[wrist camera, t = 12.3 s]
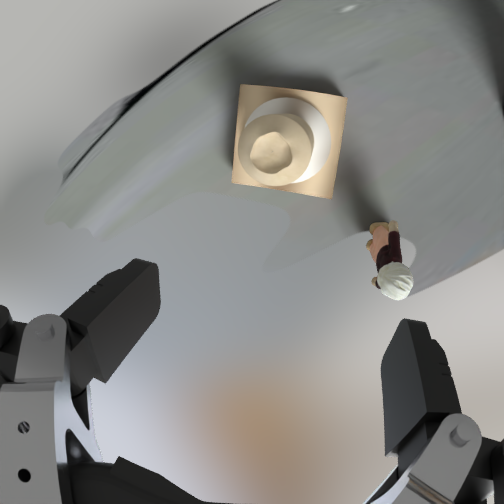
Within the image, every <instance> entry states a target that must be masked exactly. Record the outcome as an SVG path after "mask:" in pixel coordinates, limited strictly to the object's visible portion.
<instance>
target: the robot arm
mask: <svg viewBox="0 0 504 504" xmlns="http://www.w3.org/2000/svg"><path fill="white" fill-rule="evenodd" d="M160 303H161V300H160V287H159V270H158V266H157V264H155V263H152V262H149V261H145V260H141V259H137V258H136V259H133V260H132V261H131V262H129V263H128V264H127V265H126V266H125V267H124V268H122V269H118V270H116V271H114V272H111V273H109V274H107V275H105V276H104V277H103V278H102V279H101V280H99V281H98V282H97V284H96V285H94V286H92V287H91V288H90V289H89V291H88V292H86V293H85V294H83V295H82V296H81V297H80V298H79V299H78V300H76V301H75V302H74V303H73V304H72V305H71V306H70V307H69V308H68V309H66V310H65V311H64V312H63V313H62V314H61V315H60V316H58V315H55V314H45V315H41V316H38V317H36V318H34V319H33V320H31V321H30V322H29V323H28V324H27V323H22V322H16V321H13V320H12V317H11V315H10V313H9V310H8V309H7V307H5V306H2V305H0V504H229V503H212V502H204V501H201V500H199V499H197V498H195V497H194V496H192V495H190V494H189V493H187V492H185V491H184V490H182V489H181V488H179V487H178V486H176V485H175V484H173V483H171V482H170V481H169V480H167V479H165V478H164V477H163V476H161V475H160V474H158V473H155V472H153V471H150V470H148V469H145V468H143V467H141V466H139V465H137V464H134V463H132V462H130V461H128V460H126V459H124V458H122V457H120V456H119V457H118V458H117V460H116V462H115V463H114V464H112V463H105V462H103V458H102V455H101V452H100V449H99V446H98V444H97V441H96V437H95V431H94V423H93V413H92V403H91V390H90V385H89V382H90V381H91V380H92V379H93V377H94V378H96V379H98V380H100V381H102V382H104V383H106V382H107V381H108V380H109V378H110V377H111V376H112V374H113V373H114V372H115V370H116V369H117V368H118V366H119V365H120V364H121V362H122V361H123V360H124V359H125V357H126V356H127V354H128V353H129V352H130V351H131V349H132V348H133V347H134V346H135V344H136V343H137V342H138V340H139V339H140V338H141V336H142V335H143V334H144V332H145V331H146V330H147V329H148V328H149V326H150V325H151V324H152V322H153V321H154V320H155V319H156V317H157V315H158V313H159V309H160ZM381 379H382V392H383V408H384V430H385V456H387V457H398V465H397V466H395V467H394V469H393V470H392V471H391V472H390V473H389V475H388V476H387V477H386V478H385V479H384V480H383V482H382V483H381V484H380V485H379V486H378V487H377V488H376V490H375V491H374V492H373V493H372V494H371V495H370V496H369V497H368V498H367V500H365V501H364V503H363V504H487V498H488V497H490V496H491V495H493V494H494V502H495V503H494V504H504V439H503V440H502V441H501V442H498V441H495V440H492V439H488V438H485V437H482V436H481V432H480V429H479V427H478V425H477V424H476V423H475V422H474V420H472V419H471V418H470V417H468V416H466V415H463V414H462V412H461V408H460V404H459V400H458V396H457V392H456V388H455V385H454V381H453V378H452V377H451V371H450V367H449V366H448V361H447V358H446V355H445V352H444V350H443V349H442V347H441V346H440V345H439V343H438V342H437V341H436V340H434V339H431V336H430V333H429V330H428V327H427V324H426V323H425V322H422V321H416V320H410V319H405V318H404V319H403V320H401V322H400V323H399V325H398V327H397V330H396V332H395V334H394V336H393V338H392V340H391V342H390V344H389V346H388V348H387V350H386V352H385V354H384V356H383V360H382V364H381Z"/></svg>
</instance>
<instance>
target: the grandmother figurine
mask: <svg viewBox="0 0 504 504" xmlns="http://www.w3.org/2000/svg"><path fill="white" fill-rule="evenodd" d="M370 233H371V234H372V235H373V239H371V240H369V241H368V243H367V245H366V247H367V249H368V250H369V251H370V253H371V255H372V258H373V260H374V261H375V262H376V266H377V271H378V276H377V277H374V278H373V279H372V284H373V285H374V286H376V287H377V288H379V289H381V292H382V293H383V294H384V295H386V296H388V297H389V298H391V299H394V300H402V299H403V298H406V297H407V296H408V294H409V292H410V290H411V288H412V287H413V276H412V274H411V272H410V270H409V268H408V267H407V266H405V265H404V264H402V255H401V249H400V235H399V231H398V223H397V222H396V221H390V222H389V224H388V223H386V222H376V223H372V224H371V225H370Z"/></svg>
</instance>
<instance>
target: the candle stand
mask: <svg viewBox="0 0 504 504" xmlns="http://www.w3.org/2000/svg"><path fill="white" fill-rule="evenodd" d="M346 105H347V98H346V97H341V96H336V95H330V94H324V93H318V92H311V91H304V90H297V89H289V88H280V87H270V86H259V85H245V84H240V93H239V104H238V114H237V125H236V137H235V148H234V160H233V172H232V183H237V184H244V185H251V186H258V187H264V188H270V189H277V190H283V191H289V192H295V193H300V194H306V195H311V196H317V197H322V198H328V199H332V194H333V189H334V183H335V177H336V171H337V165H338V159H339V153H340V147H341V140H342V134H343V127H344V120H345V112H346ZM268 114H293V115H296V116H298V117H300V118H302V119H303V120H305V121H306V122H307V123H308V125H309V126H310V128H311V129H312V132H313V135H314V148H313V152H312V156H311V159H310V163H309V165H308V167H307V169H306V171H305V172H304V173H303V174H302V175H301V176H300V177H299V178H298V179H297V180H295V181H294V182H292V183H289V184H287V185H282V186H269V185H265V184H262V183H260V182H258V181H256V180H254V179H253V178H252V177H250V176H249V175H248V174H247V172H246V171H245V170H244V168H243V167H242V165H241V163H240V160H239V156H238V142H239V138H240V135H241V133H242V131H243V130H244V128H245V127H246V126H247V125H248V124H249V123H250V122H251V121H253V120H254V119H256V118H258V117H260V116H263V115H268Z"/></svg>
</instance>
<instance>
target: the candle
mask: <svg viewBox="0 0 504 504" xmlns="http://www.w3.org/2000/svg"><path fill="white" fill-rule="evenodd" d="M313 148H314V135H313V132H312V129H311V128H310V126H309V125H308V123H307V122H306V121H305V120H303V119H302V118H300V117H298V116H296V115H293V114H268V115H263V116H260V117H258V118H256V119H254V120H253V121H251V122H250V123H249V124H248V125H247V126H246V127H245V128H244V130H243V131H242V133H241V135H240V138H239V142H238V156H239V160H240V163H241V165H242V167H243V168H244V170H245V171H246V172H247V174H248V175H249V176H250V177H252V178H253V179H254V180H256V181H258V182H260V183H262V184H265V185H269V186H282V185H287V184H289V183H292V182H294V181H295V180H297V179H298V178H299V177H300V176H301V175H302V174H303V173H304V172H305V171H306V169H307V167H308V165H309V163H310V159H311V156H312V152H313Z"/></svg>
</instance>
